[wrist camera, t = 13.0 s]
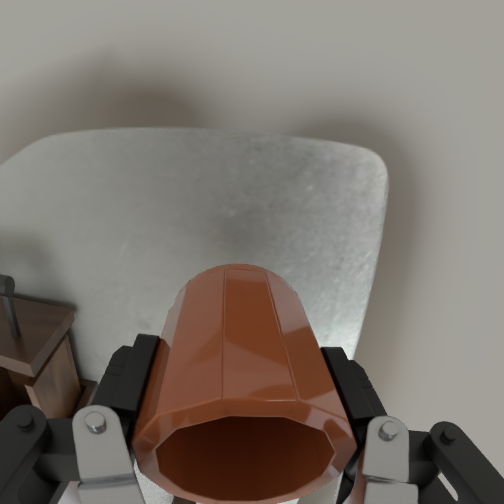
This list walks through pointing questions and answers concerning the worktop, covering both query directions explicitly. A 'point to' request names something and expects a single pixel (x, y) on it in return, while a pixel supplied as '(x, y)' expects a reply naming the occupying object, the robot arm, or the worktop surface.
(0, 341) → the drawer
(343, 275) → the worktop surface
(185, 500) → the mug
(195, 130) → the worktop surface
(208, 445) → the cup
